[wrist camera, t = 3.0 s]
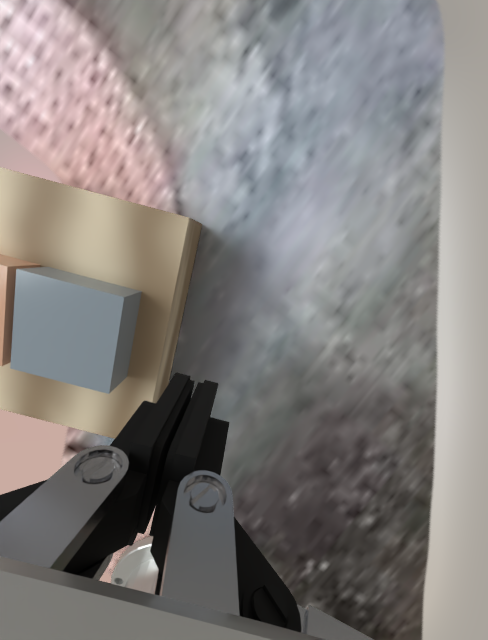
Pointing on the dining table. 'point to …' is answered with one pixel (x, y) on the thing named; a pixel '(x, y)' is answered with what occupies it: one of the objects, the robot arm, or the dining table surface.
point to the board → (106, 265)
